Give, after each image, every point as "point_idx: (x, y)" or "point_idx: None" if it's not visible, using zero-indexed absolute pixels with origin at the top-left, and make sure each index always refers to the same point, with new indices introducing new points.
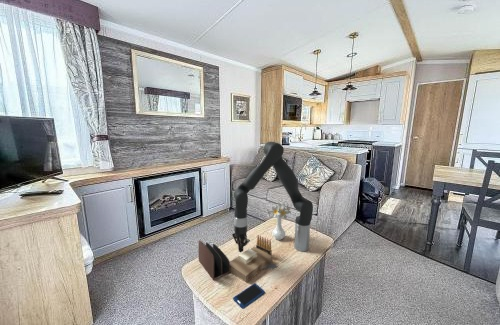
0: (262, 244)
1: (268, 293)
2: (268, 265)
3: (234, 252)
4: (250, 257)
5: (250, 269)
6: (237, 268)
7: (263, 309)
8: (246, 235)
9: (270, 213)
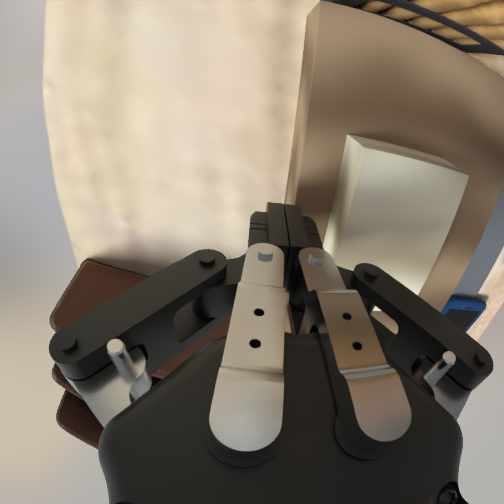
0: (463, 7)
1: (493, 290)
2: None
3: (150, 139)
4: (430, 265)
5: (435, 301)
6: None
7: (477, 335)
8: (457, 458)
9: None
